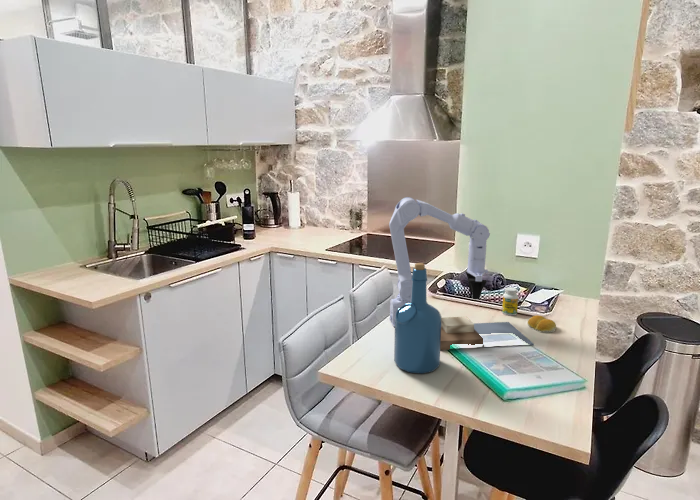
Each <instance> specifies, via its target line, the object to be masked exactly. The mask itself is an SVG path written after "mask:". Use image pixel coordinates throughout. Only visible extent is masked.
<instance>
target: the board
mask: <svg viewBox="0 0 700 500" xmlns="http://www.w3.org/2000/svg"><path fill="white" fill-rule="evenodd" d="M452 344H468V345H469V344H471V345H475V344H483V338H482V337H481V336H480V335H479V334H478V333H477V331H476V330H475V329H474V332H462V333H446V332H445V331H444V329H443V328H442V327H441V344H440V351H447V350H449V349H450V345H452ZM449 351H450V350H449Z"/></svg>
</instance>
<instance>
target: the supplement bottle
mask: <svg viewBox="0 0 700 500" xmlns="http://www.w3.org/2000/svg"><path fill="white" fill-rule="evenodd" d="M504 292H505V293H503V295H502V306H501V307H502V309H501V310H502V311H501V313H502V314H503V315H506V316H509V317H513V316H516V315H517V314H518V307H519V295H518V294H517V288H516V287H505V290H504Z"/></svg>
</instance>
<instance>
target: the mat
mask: <svg viewBox="0 0 700 500" xmlns="http://www.w3.org/2000/svg"><path fill="white" fill-rule="evenodd" d="M472 323H473V324H474V329H475V330H476V331H477V333H478V334H491V333H513V334H515V335H516V336H518V337H519V338H520V339H522V340H523V341H525V342H526V343H528V344H530V345H529V346H534V344H535V343H534V342H532V340H530V339H529V338H528V337H527V336H525V335H524V334H523V333H522V332H521V331H519V330H518V328H516V327H515V326H514V325H513V324H512V323H510V322H509V321H499V322H494V321H493V322H480V323H479V322H478V323H475V322H472Z"/></svg>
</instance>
